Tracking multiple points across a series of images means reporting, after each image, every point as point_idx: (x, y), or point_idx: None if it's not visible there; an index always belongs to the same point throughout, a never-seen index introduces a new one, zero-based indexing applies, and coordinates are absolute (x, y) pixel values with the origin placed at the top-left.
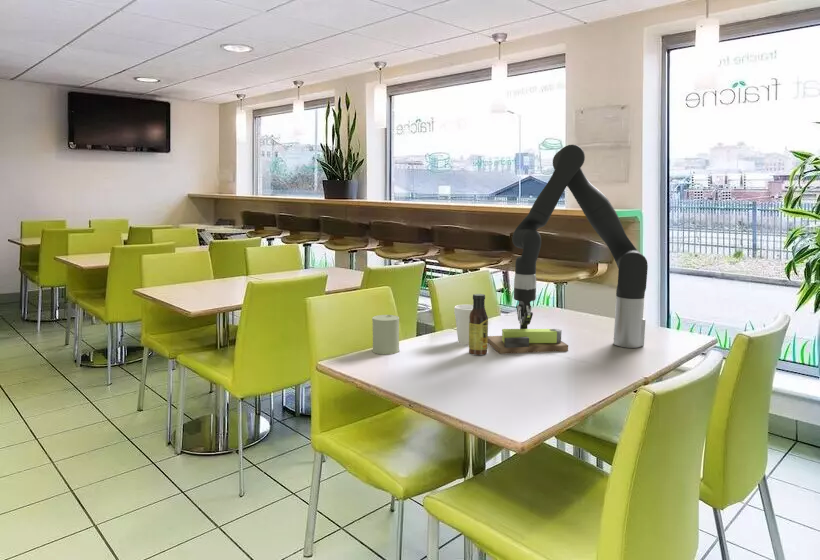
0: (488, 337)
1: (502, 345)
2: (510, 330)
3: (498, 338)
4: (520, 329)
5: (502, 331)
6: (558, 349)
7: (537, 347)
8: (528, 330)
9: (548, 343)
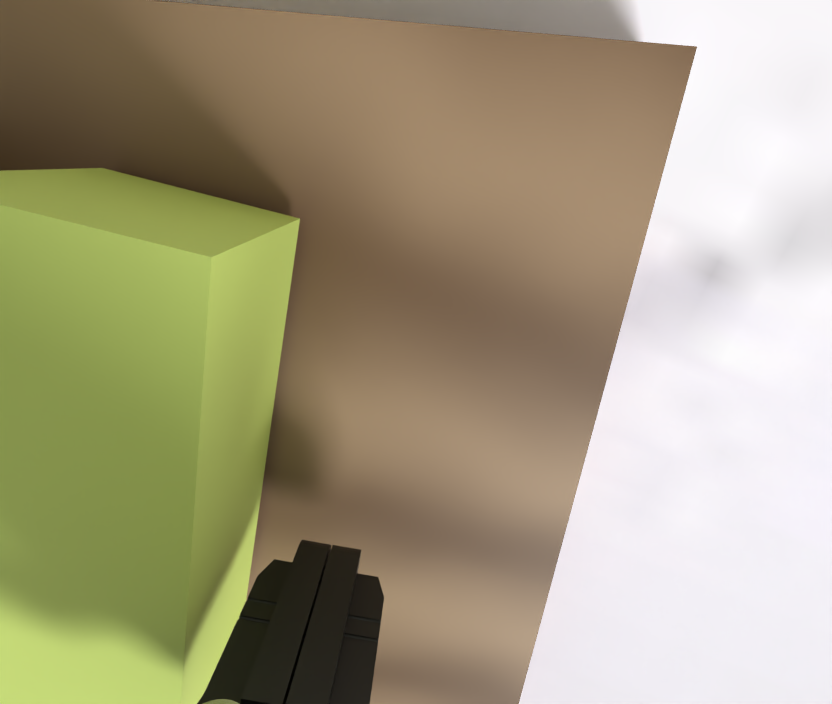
0: (595, 60)
1: (7, 99)
2: (36, 384)
3: (468, 224)
4: (142, 587)
5: (191, 234)
6: None
7: None
8: (62, 660)
9: None
